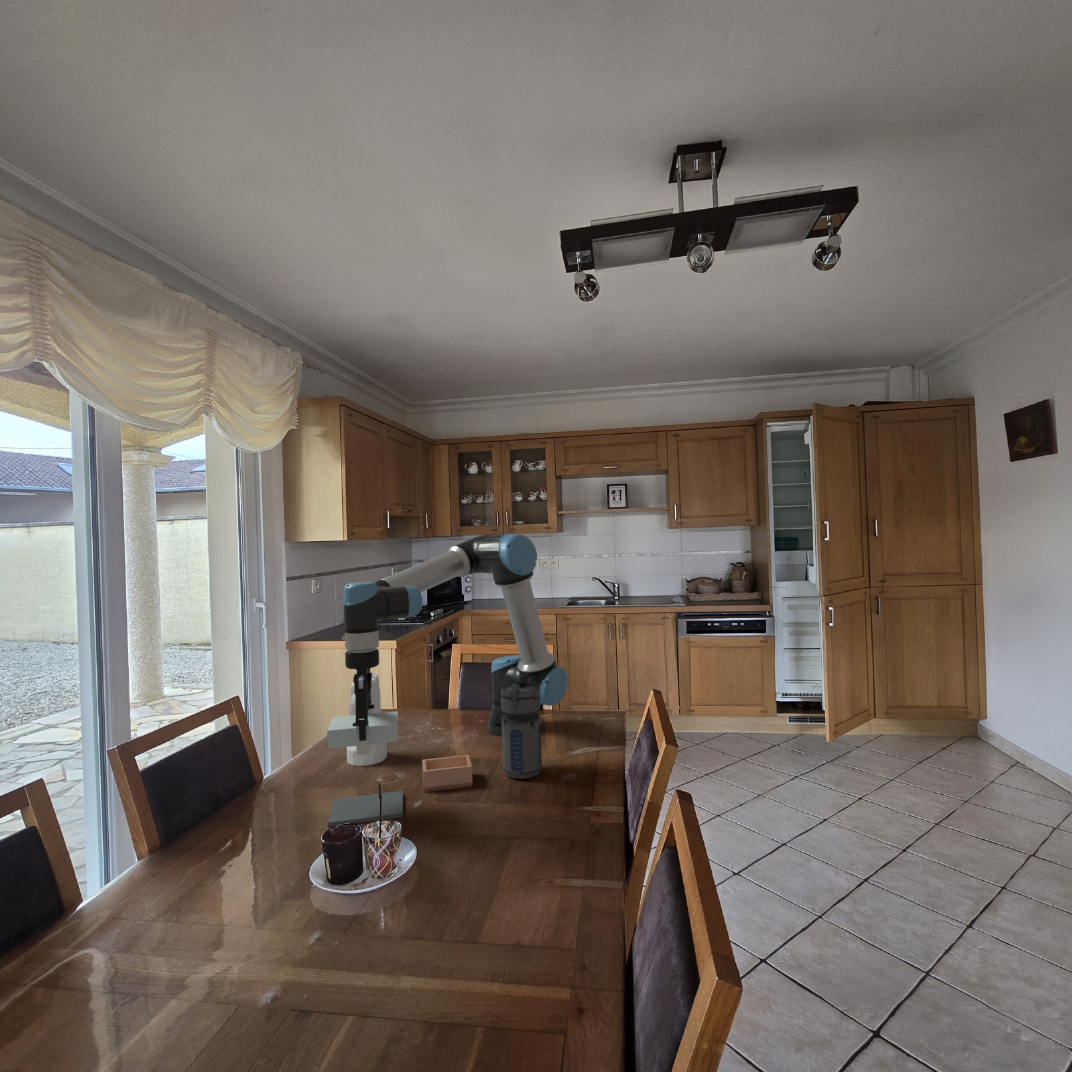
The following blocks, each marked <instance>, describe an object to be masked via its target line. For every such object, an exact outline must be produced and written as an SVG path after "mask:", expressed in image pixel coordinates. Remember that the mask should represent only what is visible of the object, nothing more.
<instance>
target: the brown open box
mask: <svg viewBox="0 0 1072 1072" xmlns="http://www.w3.org/2000/svg"><path fill="white" fill-rule="evenodd" d="M470 758H471V757H470V754H464V755H455V756H454V755H453V756H445V757H436V758H427V759H422V760H421V763H422V768H421V769H422V787H423V792H424V793H428V792H436V791H444V790H452V789H460V788H467V787H468V788H469V787H473V766H472V762H471V759H470Z"/></svg>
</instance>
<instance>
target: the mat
mask: <svg viewBox="0 0 1072 1072" xmlns="http://www.w3.org/2000/svg"><path fill="white" fill-rule="evenodd" d="M381 793H382V792H381ZM403 804H404V790H395V791H388V792H383V793H382V815H381V816H380V799H379V793H372V794H362V795H356V796H355V795H354V796H346V797H337V798H333V802H332V804H331V809H330V813H329V816H328V819H327V827H328V828H333V827H335V826H334V825H339V824H344V823H356V824H361V823H363V824H364V823H369V822H371V823H372V822H377V821H376V820H379V819H380V817H381V818H382V819H385V820H393V819H400V818H401V819H402V818H404V805H403ZM385 820H384V821H385ZM379 821H380V820H379Z"/></svg>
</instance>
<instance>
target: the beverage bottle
mask: <svg viewBox="0 0 1072 1072" xmlns="http://www.w3.org/2000/svg"><path fill="white" fill-rule="evenodd" d="M518 684H520V686H518ZM503 688H504V687H502V689H501V710H502V711H503V713H504V714H505V715H504V716H503V717H502V736H501V742H502V770H503V772H504V774H505V776H507V777H509V778H512V779H515V778H516V780H527V778H528V779H531V778H534V777H537V776H538V775H539V774H540V773H541V771H542V767H543V763H542V739H541V738H542V736H541V732H542V730H541V728H542V727H541V716H540V714H538V712H539V711H540V709H541V704H540V696H539V690H538V688H533V687H531V685H530V678H529V676H527V675H523V676H522V677H521V678H520V681H519V682H512V687H509V688H507V689H505V690H504V689H503Z"/></svg>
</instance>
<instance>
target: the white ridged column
mask: <svg viewBox="0 0 1072 1072" xmlns="http://www.w3.org/2000/svg"><path fill="white" fill-rule="evenodd" d="M370 673H372V686H371V701H372V703H371V705H373V704H374V709H369V710H371V711H372V714H374V713H383V712H382V709H381V706H382V705H381V689H380V679H379V678H380V677H379V674H378V673H377V672H375V673H374V672H372V671H371V670H370ZM350 695H351V696H350V701H349V716H351V715H356V711H355V693H354V682H353V681H352V684H351V688H350ZM387 745H388V743H381V744H371V745H370V754H363V755H357V746H351V747H346V761H347V762H346V763H347V764H348V765H350V766H355V767H366V766H373V765H375V764H380V763H381V762H383V761H385V760H386V759H387V756H388V747H387Z"/></svg>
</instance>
